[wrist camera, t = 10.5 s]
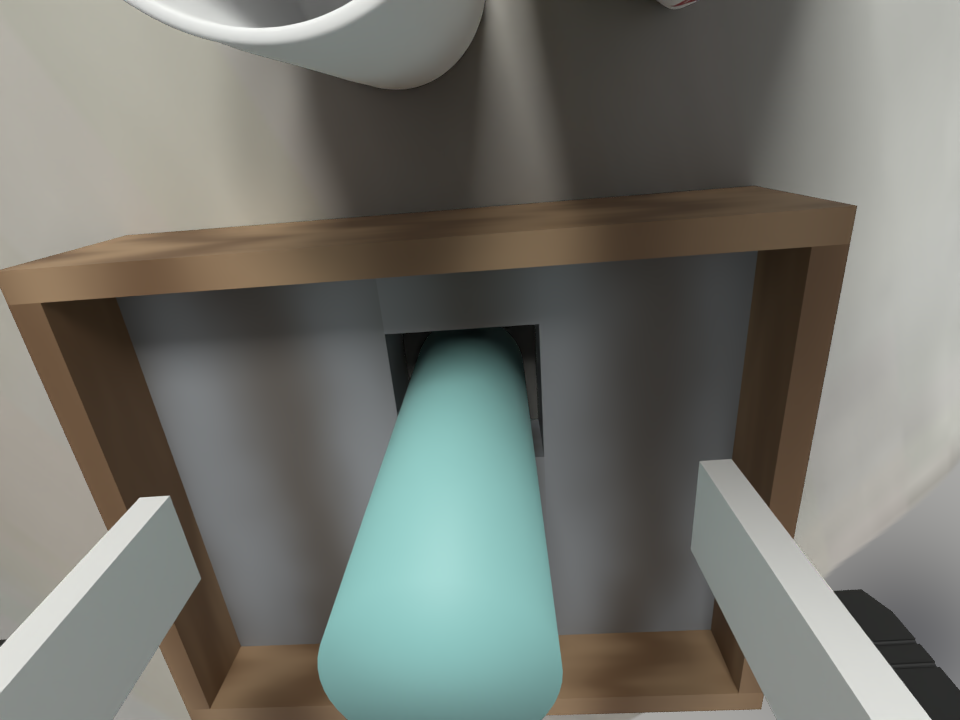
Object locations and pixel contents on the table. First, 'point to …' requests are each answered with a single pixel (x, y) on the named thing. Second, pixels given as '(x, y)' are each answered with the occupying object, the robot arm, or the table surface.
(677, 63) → the table surface
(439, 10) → the mug
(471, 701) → the peg
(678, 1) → the juice carton
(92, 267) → the crate
